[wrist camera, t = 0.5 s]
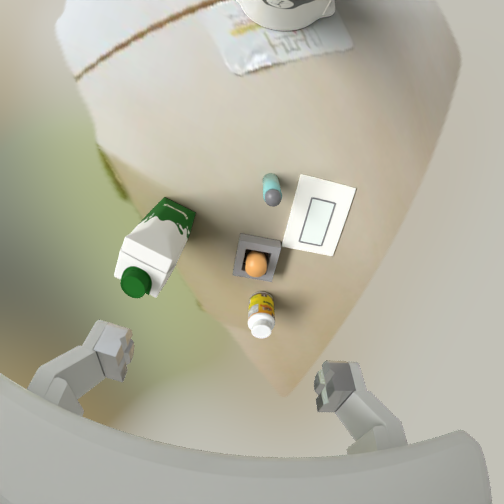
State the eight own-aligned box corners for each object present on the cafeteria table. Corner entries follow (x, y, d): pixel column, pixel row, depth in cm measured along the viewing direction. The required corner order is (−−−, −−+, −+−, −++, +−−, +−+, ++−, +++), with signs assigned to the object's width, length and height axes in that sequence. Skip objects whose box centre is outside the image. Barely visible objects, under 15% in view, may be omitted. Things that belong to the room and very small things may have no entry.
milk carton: (147, 227, 54) (104, 285, 37) (162, 190, 50) (116, 237, 33) (184, 246, 56) (155, 311, 39) (202, 210, 52) (174, 267, 35)
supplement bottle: (278, 301, 62) (280, 334, 54) (258, 312, 64) (258, 344, 55) (264, 286, 60) (264, 318, 51) (244, 297, 62) (241, 329, 53)
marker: (264, 171, 48) (265, 187, 39) (279, 175, 48) (284, 191, 39) (261, 186, 49) (261, 205, 40) (276, 189, 50) (280, 209, 41)
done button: (248, 248, 54) (247, 257, 51) (268, 252, 54) (268, 261, 51) (244, 265, 56) (243, 275, 53) (264, 269, 56) (264, 278, 53)
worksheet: (300, 173, 48) (300, 174, 47) (355, 187, 49) (356, 188, 48) (281, 245, 55) (281, 246, 55) (332, 255, 56) (332, 256, 56)
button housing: (240, 233, 54) (239, 240, 52) (280, 240, 55) (281, 248, 52) (233, 267, 58) (232, 275, 55) (271, 273, 59) (271, 281, 56)
